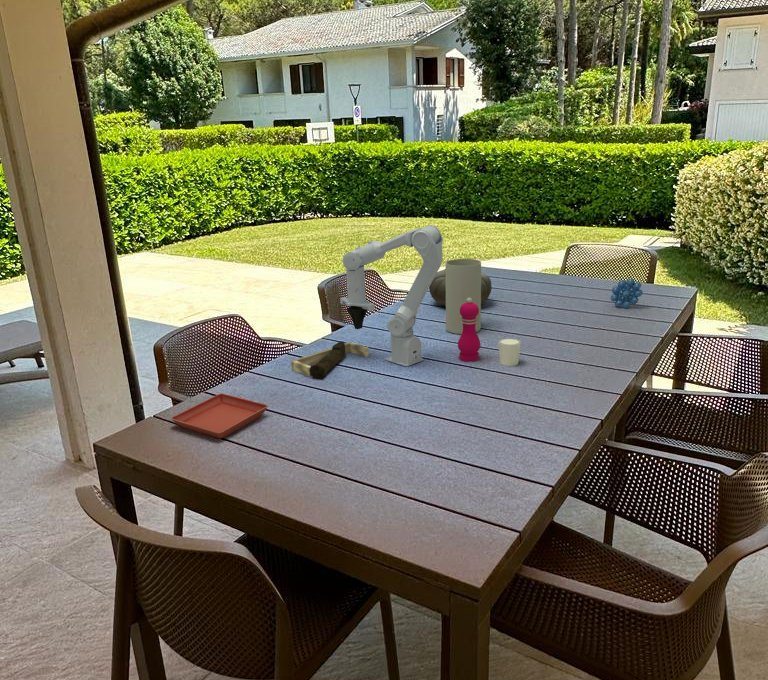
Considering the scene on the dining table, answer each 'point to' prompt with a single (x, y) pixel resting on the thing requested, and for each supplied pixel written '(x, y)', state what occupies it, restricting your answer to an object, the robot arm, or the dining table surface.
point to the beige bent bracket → (304, 363)
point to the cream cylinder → (509, 351)
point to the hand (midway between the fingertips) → (358, 328)
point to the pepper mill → (469, 332)
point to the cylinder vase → (462, 291)
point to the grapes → (626, 293)
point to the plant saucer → (220, 415)
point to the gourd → (439, 287)
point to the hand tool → (328, 361)
